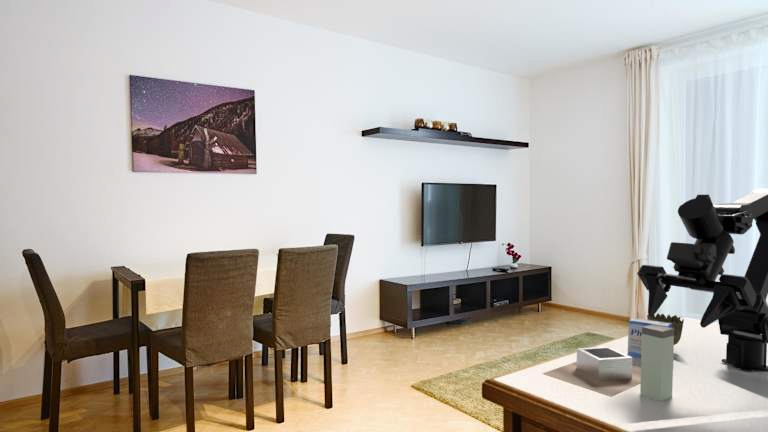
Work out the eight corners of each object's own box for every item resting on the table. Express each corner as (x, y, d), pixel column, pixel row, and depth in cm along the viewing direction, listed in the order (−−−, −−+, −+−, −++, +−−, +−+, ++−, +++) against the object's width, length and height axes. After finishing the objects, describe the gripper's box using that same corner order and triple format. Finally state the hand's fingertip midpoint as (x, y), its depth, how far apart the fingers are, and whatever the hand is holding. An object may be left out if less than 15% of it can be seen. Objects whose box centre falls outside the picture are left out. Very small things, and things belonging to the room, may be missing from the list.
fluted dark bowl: (688, 356, 112) (689, 321, 111) (652, 354, 113) (653, 319, 113) (675, 347, 119) (676, 313, 119) (642, 345, 120) (643, 312, 120)
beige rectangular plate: (597, 358, 110) (597, 354, 110) (664, 377, 99) (664, 372, 99) (542, 378, 98) (542, 373, 98) (610, 402, 87) (610, 396, 87)
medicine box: (626, 359, 110) (627, 320, 110) (632, 354, 113) (633, 316, 113) (667, 367, 105) (668, 326, 104) (671, 361, 108) (672, 322, 108)
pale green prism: (651, 395, 90) (653, 324, 89) (671, 402, 87) (674, 328, 86) (640, 399, 88) (641, 326, 87) (660, 407, 85) (662, 331, 84)
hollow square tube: (607, 365, 102) (608, 346, 102) (632, 378, 95) (632, 357, 95) (576, 368, 101) (576, 348, 101) (598, 380, 94) (599, 359, 94)
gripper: (643, 224, 100) (608, 284, 94) (750, 229, 84) (716, 301, 78) (664, 260, 104) (632, 319, 99) (769, 272, 88) (738, 343, 83)
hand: (674, 320), depth 90 cm, fingers open, 9 cm apart
